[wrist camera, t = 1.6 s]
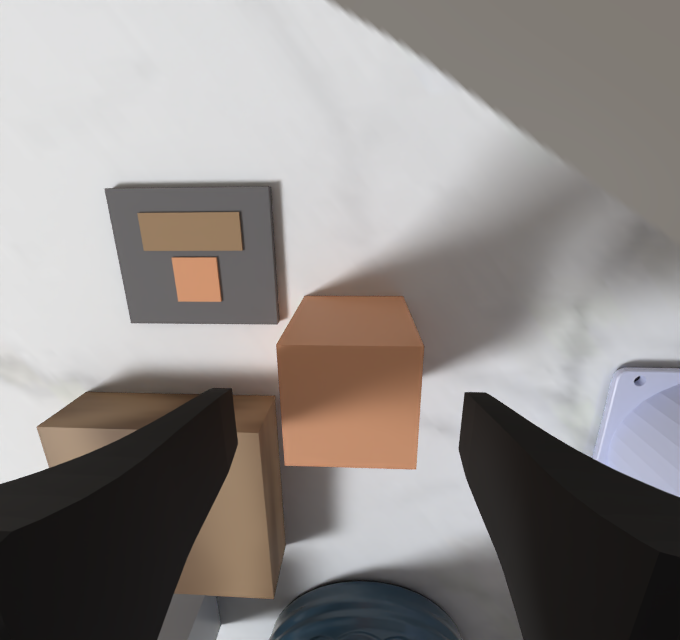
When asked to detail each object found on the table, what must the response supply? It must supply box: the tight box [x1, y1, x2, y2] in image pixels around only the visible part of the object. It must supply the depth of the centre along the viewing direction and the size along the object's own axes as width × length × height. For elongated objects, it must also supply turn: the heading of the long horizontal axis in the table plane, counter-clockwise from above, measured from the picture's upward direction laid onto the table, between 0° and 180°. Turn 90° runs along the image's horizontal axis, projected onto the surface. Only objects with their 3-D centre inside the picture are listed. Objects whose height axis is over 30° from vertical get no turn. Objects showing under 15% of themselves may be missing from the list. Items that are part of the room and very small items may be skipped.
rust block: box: [276, 296, 424, 469], centre depth 15 cm, size 4×4×6 cm
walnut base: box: [37, 392, 286, 599], centre depth 19 cm, size 10×10×4 cm
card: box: [105, 186, 279, 324], centre depth 16 cm, size 7×6×1 cm
